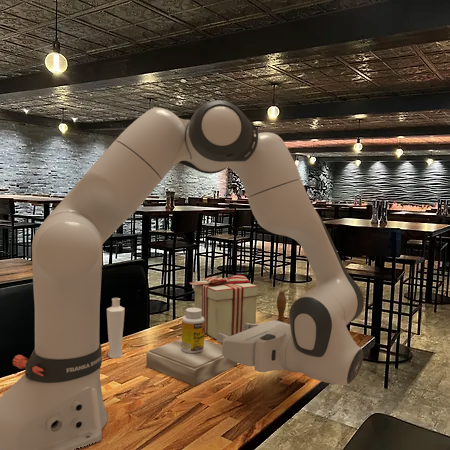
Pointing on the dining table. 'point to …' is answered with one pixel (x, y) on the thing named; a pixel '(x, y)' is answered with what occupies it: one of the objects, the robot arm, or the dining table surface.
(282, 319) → the hand bell
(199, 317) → the supplement bottle
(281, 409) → the dining table surface
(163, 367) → the riser
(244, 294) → the gift box
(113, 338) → the perfume bottle
